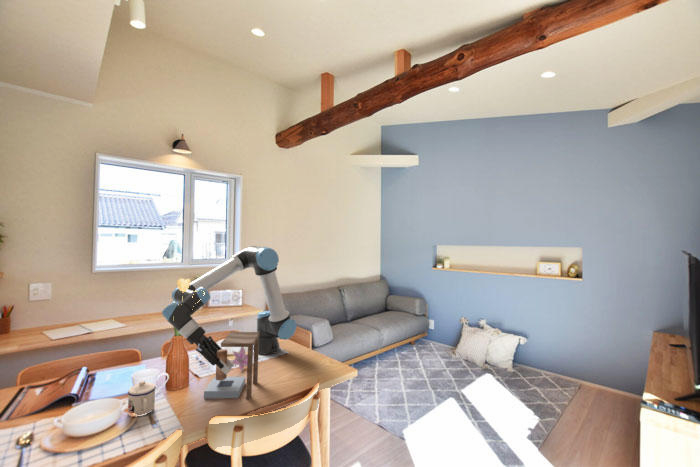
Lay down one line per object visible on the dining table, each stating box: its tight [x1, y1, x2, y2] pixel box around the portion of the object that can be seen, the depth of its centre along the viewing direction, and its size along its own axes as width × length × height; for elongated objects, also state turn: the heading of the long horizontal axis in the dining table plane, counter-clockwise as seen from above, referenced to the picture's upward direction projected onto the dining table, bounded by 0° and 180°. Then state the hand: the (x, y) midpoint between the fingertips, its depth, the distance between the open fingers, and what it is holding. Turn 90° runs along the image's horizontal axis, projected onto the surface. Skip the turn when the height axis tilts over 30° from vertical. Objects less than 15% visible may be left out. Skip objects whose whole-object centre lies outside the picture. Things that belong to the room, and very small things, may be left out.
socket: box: [203, 376, 246, 399], centre depth 148 cm, size 14×14×3 cm
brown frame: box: [220, 331, 259, 400], centre depth 148 cm, size 16×13×24 cm
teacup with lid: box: [127, 380, 156, 415], centre depth 128 cm, size 12×9×12 cm
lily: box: [231, 347, 248, 372], centre depth 172 cm, size 12×12×10 cm
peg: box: [215, 348, 228, 381], centre depth 147 cm, size 4×4×12 cm
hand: (230, 369), depth 148 cm, fingers closed on peg, 4 cm apart
